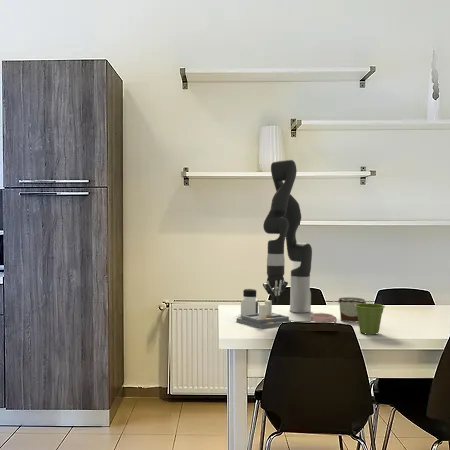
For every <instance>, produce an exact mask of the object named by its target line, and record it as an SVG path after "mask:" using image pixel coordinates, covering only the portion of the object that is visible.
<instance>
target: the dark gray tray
mask: <svg viewBox="0 0 450 450" xmlns="http://www.w3.org/2000/svg"><path fill="white" fill-rule="evenodd" d="M240 316H241V317H237V318H236V322H237V323H240V324H244V325H248V326H250V327H255V328H257V329H260V330H261V329H268V328H269V329H270V328H275V327H280V326H279V325H280V324H281V323H283V322H291V321H294V320H293V319H290V316H287V315H282V314H280V313H275V312H272V314H270V315H266V319H262V320H260V319H258V318H259V312H258V313H257V314H249V315H241V314H240Z"/></svg>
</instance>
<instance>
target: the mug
mask: <svg viewBox="0 0 450 450" xmlns="http://www.w3.org/2000/svg"><path fill="white" fill-rule="evenodd" d="M309 318H310V319H309V322H310V321H315V322H334V323H336V324H337V323H338V321H337V320H338V319H337V317H336V316H334V315H333V314H332V313H323V312H320V313H319V312H318V313H316V312H315V313H311V314H310V317H309Z"/></svg>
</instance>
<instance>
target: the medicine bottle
mask: <svg viewBox="0 0 450 450" xmlns="http://www.w3.org/2000/svg"><path fill="white" fill-rule="evenodd" d="M242 291H243V296H242V299H241V300H240V316H241V315H249V314H257V313H259V298H257V290H256V289H255V288H245V289H243V290H242Z"/></svg>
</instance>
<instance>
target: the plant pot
mask: <svg viewBox="0 0 450 450" xmlns="http://www.w3.org/2000/svg"><path fill="white" fill-rule="evenodd" d="M355 306H356V311H357V314H358V321H359V322H358V325H359V333H360V332H362V333H361V334H363V333H366V334H367V335H369V334H373V335H376V334H375V333H378V332H380V328H381V327H380V326H381V322H382V321H381V320H382V317H383V316H382V315H383V312H384V309H385V305H384V304H379V303H367V302H366V303H361V304H355ZM366 334H365V335H366ZM378 334H379V333H378Z"/></svg>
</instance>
